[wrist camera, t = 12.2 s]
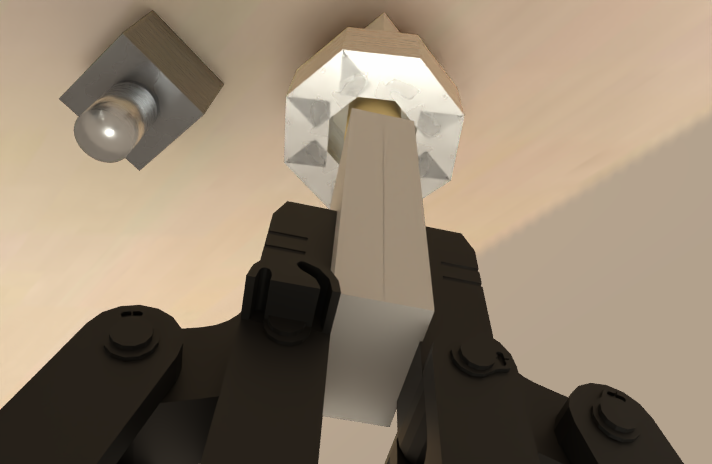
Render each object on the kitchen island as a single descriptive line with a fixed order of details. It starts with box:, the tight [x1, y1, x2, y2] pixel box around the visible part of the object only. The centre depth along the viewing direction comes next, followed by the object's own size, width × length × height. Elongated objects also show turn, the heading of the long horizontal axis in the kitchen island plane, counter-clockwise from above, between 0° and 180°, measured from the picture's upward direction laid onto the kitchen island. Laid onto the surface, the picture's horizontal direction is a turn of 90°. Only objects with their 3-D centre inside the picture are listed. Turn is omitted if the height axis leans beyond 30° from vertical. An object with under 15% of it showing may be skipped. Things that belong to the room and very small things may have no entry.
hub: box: [333, 12, 410, 141], centre depth 35 cm, size 6×6×9 cm
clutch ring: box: [284, 27, 464, 209], centre depth 33 cm, size 9×9×4 cm
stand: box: [59, 11, 224, 171], centre depth 35 cm, size 6×6×9 cm
